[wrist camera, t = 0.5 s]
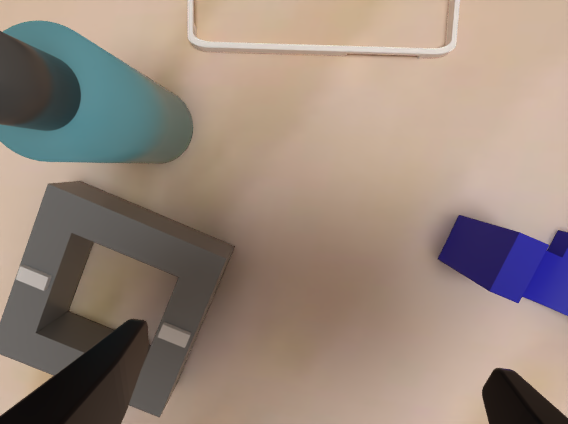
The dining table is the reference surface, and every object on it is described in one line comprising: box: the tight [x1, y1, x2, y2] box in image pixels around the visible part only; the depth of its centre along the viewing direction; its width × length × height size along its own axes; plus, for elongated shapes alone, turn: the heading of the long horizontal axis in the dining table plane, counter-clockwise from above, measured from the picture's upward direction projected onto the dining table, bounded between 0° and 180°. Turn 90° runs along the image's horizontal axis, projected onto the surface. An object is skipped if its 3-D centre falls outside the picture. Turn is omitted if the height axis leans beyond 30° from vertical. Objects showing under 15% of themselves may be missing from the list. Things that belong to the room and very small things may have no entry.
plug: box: [0, 21, 193, 164], centre depth 15 cm, size 4×4×13 cm
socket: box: [0, 181, 235, 417], centre depth 21 cm, size 10×10×3 cm
